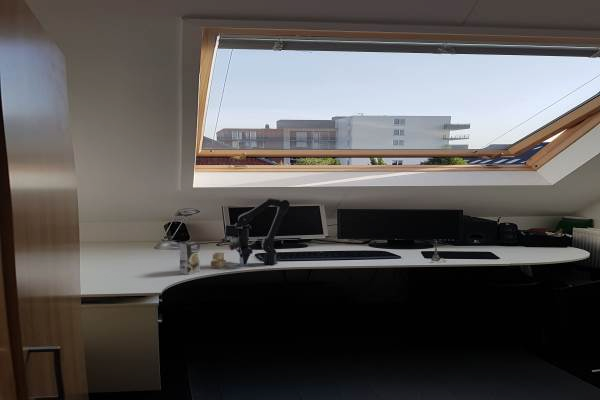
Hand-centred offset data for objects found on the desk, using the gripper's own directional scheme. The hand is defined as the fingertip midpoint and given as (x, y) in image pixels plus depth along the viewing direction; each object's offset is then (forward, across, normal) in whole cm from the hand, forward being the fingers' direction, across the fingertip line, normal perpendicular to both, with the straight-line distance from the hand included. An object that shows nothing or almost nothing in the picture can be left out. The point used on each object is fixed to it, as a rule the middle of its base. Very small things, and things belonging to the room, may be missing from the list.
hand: (243, 263), depth 254 cm
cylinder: (+1, 0, 0) cm, 1 cm away
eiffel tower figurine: (+2, +27, +114) cm, 118 cm away
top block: (-3, +1, -15) cm, 15 cm away
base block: (+1, +1, -15) cm, 15 cm away
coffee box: (+1, +7, -31) cm, 32 cm away
